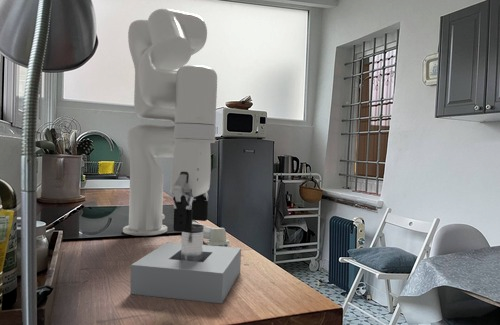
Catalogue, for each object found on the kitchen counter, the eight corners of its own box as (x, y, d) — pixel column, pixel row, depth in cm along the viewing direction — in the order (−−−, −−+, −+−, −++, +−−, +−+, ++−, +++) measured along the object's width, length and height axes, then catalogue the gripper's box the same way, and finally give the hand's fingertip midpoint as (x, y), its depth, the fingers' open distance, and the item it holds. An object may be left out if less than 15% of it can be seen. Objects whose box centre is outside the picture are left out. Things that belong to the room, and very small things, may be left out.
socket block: (166, 265, 78) (167, 242, 78) (240, 272, 76) (241, 247, 76) (130, 293, 63) (131, 264, 62) (221, 303, 60) (222, 273, 60)
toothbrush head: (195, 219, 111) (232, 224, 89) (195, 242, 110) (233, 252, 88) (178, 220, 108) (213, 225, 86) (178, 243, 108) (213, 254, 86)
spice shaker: (184, 269, 72) (186, 223, 71) (204, 271, 71) (206, 225, 70) (176, 275, 68) (178, 227, 67) (197, 278, 67) (199, 229, 67)
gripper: (190, 135, 77) (187, 215, 78) (156, 132, 60) (153, 234, 61) (225, 136, 76) (221, 218, 77) (200, 133, 59) (196, 238, 60)
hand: (191, 225), depth 69 cm, fingers open, 9 cm apart
